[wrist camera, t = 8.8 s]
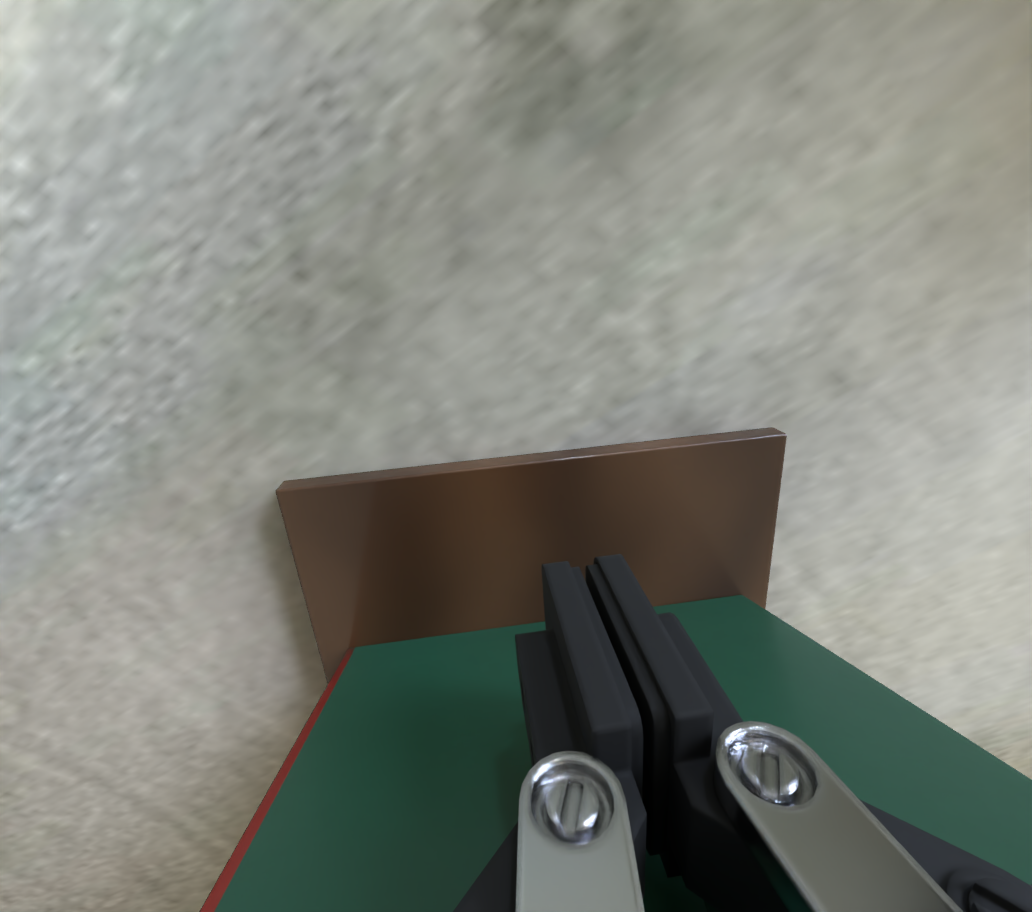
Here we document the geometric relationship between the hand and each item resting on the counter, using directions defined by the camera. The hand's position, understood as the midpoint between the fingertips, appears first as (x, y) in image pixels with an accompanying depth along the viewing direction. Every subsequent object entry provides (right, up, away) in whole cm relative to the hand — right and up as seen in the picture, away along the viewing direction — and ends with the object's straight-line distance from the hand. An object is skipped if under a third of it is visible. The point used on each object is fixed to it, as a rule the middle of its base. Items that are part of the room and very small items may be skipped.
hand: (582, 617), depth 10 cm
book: (0, -4, +7) cm, 8 cm away
